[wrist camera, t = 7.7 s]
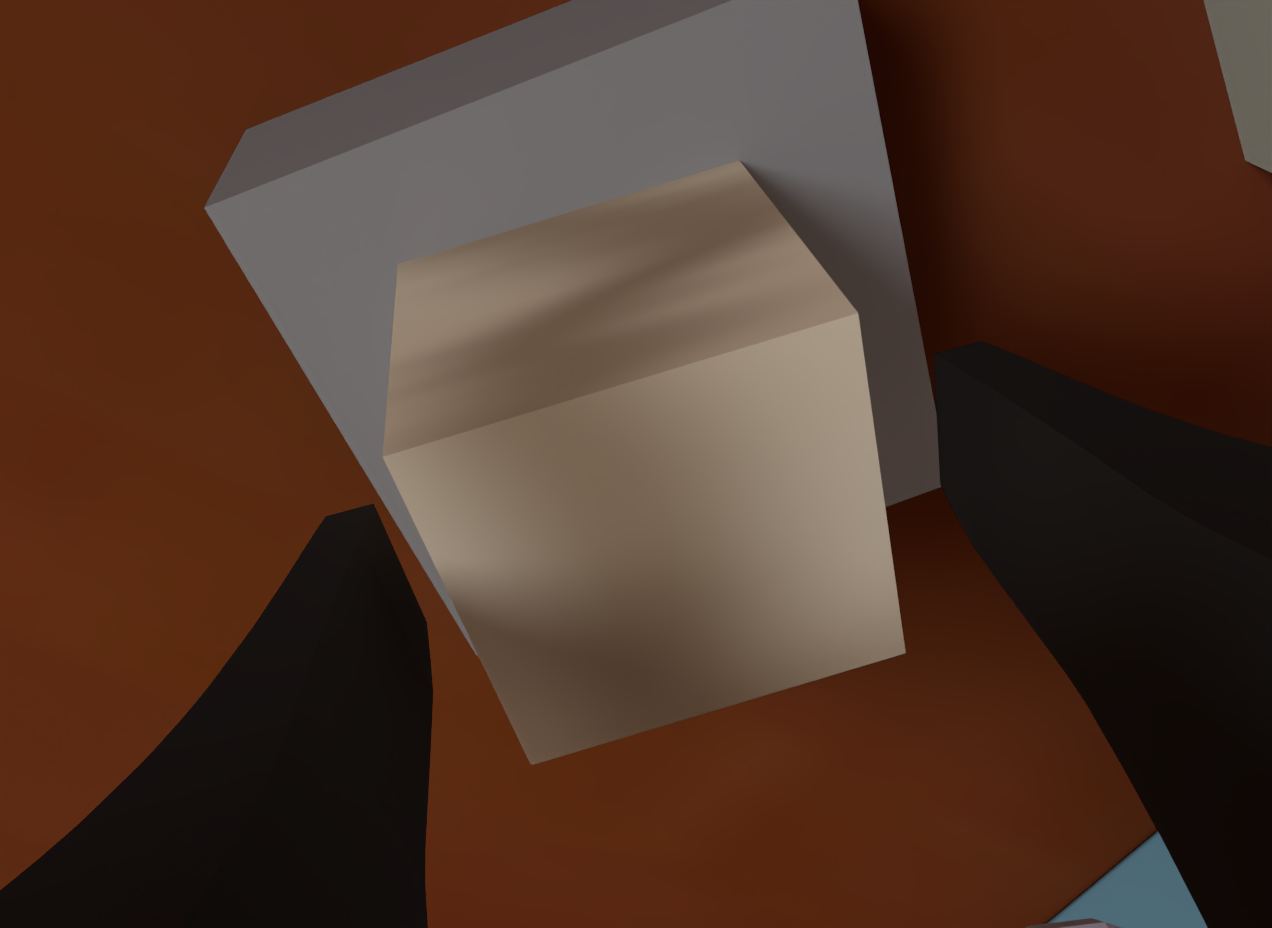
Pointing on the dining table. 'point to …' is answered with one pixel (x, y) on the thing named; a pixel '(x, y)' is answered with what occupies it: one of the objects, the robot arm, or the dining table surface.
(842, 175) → the base block
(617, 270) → the maple cube
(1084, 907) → the data package
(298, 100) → the dining table surface
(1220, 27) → the sage block
